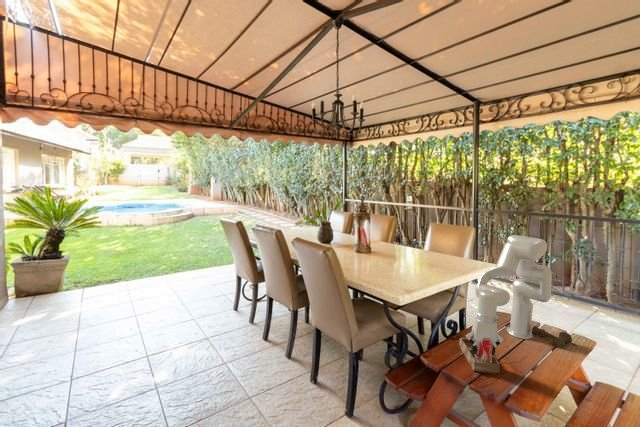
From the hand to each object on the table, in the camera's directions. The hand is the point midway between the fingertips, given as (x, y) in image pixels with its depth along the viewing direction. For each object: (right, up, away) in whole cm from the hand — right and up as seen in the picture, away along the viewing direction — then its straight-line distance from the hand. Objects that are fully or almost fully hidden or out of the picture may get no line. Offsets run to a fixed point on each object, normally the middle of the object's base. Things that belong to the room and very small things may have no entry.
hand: (483, 352), depth 144 cm
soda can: (0, -4, +1) cm, 4 cm away
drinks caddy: (0, -5, +6) cm, 8 cm away
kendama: (+50, -5, +23) cm, 55 cm away
